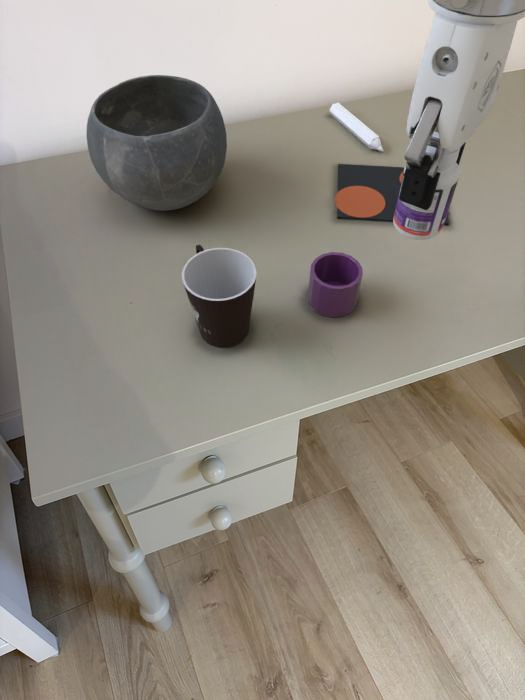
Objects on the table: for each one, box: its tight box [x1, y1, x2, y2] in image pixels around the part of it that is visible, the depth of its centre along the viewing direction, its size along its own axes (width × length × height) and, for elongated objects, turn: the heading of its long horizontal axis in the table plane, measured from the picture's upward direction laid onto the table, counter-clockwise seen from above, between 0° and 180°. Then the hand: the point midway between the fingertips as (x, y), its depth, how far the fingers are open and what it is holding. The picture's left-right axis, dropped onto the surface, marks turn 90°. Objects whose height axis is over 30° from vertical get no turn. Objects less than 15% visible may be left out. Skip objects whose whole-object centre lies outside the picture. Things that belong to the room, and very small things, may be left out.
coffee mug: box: [181, 244, 258, 349], centre depth 66 cm, size 12×9×10 cm
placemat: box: [334, 163, 450, 226], centre depth 86 cm, size 18×14×1 cm
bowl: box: [86, 74, 228, 211], centre depth 80 cm, size 20×20×15 cm
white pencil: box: [328, 102, 385, 153], centre depth 95 cm, size 3×2×16 cm
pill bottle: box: [392, 132, 461, 241], centre depth 54 cm, size 5×5×10 cm
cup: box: [307, 251, 364, 318], centre depth 70 cm, size 7×7×6 cm
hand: (427, 186), depth 54 cm, fingers closed on pill bottle, 5 cm apart
